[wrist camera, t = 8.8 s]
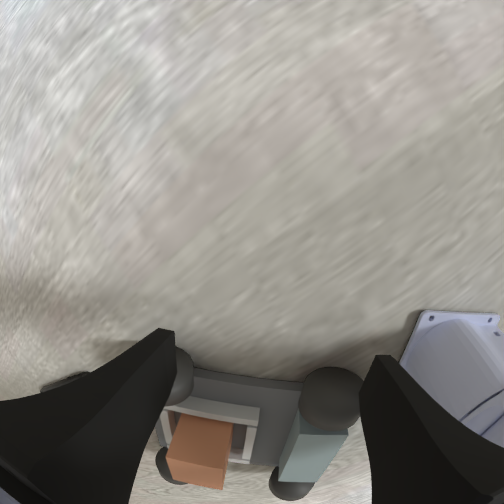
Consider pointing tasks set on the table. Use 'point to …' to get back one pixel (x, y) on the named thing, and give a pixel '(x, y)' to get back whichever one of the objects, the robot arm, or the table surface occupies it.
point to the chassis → (267, 420)
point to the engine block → (200, 451)
